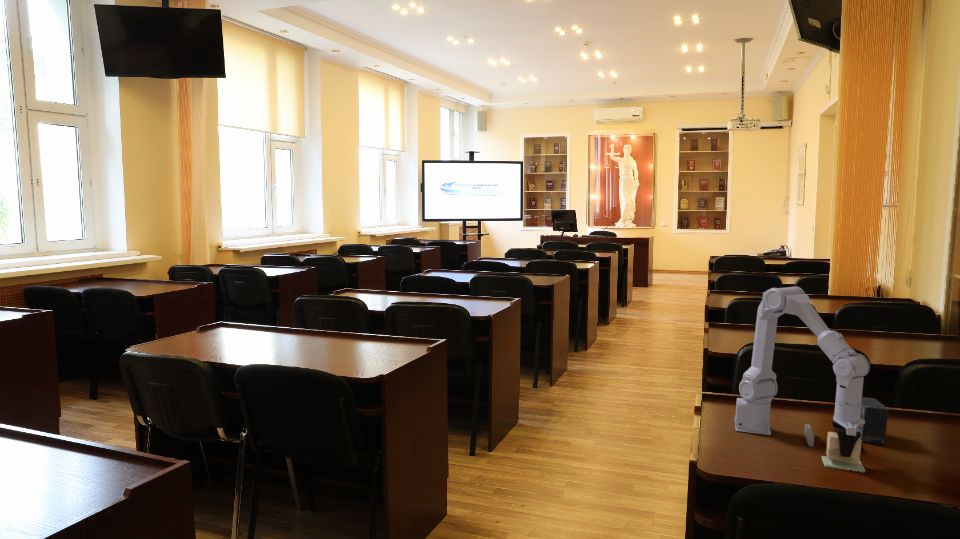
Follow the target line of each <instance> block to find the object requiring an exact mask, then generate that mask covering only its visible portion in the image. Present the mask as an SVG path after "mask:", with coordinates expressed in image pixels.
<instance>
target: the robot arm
mask: <svg viewBox="0 0 960 539" xmlns="http://www.w3.org/2000/svg"><path fill="white" fill-rule="evenodd" d="M761 299H762V300H761V302H760V303H759V305H758V307H757V313H756V322H755V330H754V337H753V338H754V339H753V348H752V354H751V355H752V356H751V362H750V363H751V364H750V365H751V366H750V367H749V368H748V369H747V370H745V371H744V373H743V375H742V379H741V381H740V382H739V385H738V390H739V394H740V396H741V397H737V398H736V404H735V416H734V419H733V420H734V421H733V422H734V426H735V431H736V432H742V433H752V434H758V435H759V434H760V435H766V436H771V435H772V431H771V427H770V418H771V417H770V416H771V405H772V404H771V402H772V401H773V398H774V397H775V396H776V395H777V393H778V391H779V390H778V388H779V387H778V383H777V374H776V373H775V372H774V371H773V370H772V369H773V359H774V354H775V352H774V351H775V343H776V336H777V328H778V327H777V326H778V319H779V317H781V316H782V315H784V314H788V315H794V316H797V317H798V318H799V319H800V320H801V321H802V322H803V323H804V324H805V325H806V326H807V328H809V330H810V331H811V332H812V333H813V334H814V335H815V336H816V337H817V342H816V343H817V345H818V347H819V348H820V349H821V350H822V352H823V353H824V354H825V355H826V356H827V357H828V359H829V360H830V362H832V364H833V365H832V369H833V373H834V374H835V377H836V379H835V382H836V391H835V400H834V401H835V403H834V404H835V405H834V414H833V417H832V419H833V420H831V423H832V425H833V429H834V432H835V433H837V435H838V439H839V448H840V454H841V456H842V457H850V456H851V454H852V451H853V448H854V446H855V444H856V442H857V440H858V439H859V438H860V437H861V433H860V432H856V430H857V427H858V426H859V425H860V424H865V421H864V420H863V419H860V412H861V401H862V397H863V389H864V380H865V379H864V376H865V377H866V376H867V375H868V374H869V372H870V363H869V361H868V359H867V357H866V356H865V355H863V354H861V353H858V352H856V351H855V350H854V348H853V349H852V347H851V346H850V345H849V344H848V342H846V341H845V339H844V335H843V334H842V333H841V332H838V331H837V330H830V329H829V327H828V325H827V324H826V323H825V322H824V320H823V319H822V318H821V316H820V315H819V313H818V312H817V311H816V310H815V308H814V307H813V306H812V304H811V302H810V296H809V295H808V294H806V292H805V291H804V290H803V288H801V287H799V286H795V285H794V286H789V287H778V288H777V287H772V288H769V289H767V290H766V291H764V292H763V293H762V298H761Z"/></svg>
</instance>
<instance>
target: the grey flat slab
mask: <svg viewBox="0 0 960 539" xmlns="http://www.w3.org/2000/svg"><path fill="white" fill-rule="evenodd" d="M804 436H805V440H806V443H807V445H808V447H814V446H815V445H814V444H815V435H814V432H813V430H812V427H811V425H810V424H804Z"/></svg>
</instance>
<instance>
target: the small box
mask: <svg viewBox="0 0 960 539" xmlns="http://www.w3.org/2000/svg"><path fill="white" fill-rule="evenodd" d="M888 416H889V408H888V407H887V406H885V405H884V404H882V403H881V402H880V401H879V400H878V399H876V398H873V397H865V396H862V401H861V412H860V419H863V420H864V421H865V424H860V425H859V426H858V427H857V430H856V432H860V433H861V437H860V439H861V443H867V444H876V445H877V444H878V445H885V443H886V436H887V426H888V418H889V417H888Z"/></svg>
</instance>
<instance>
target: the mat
mask: <svg viewBox="0 0 960 539" xmlns="http://www.w3.org/2000/svg"><path fill="white" fill-rule="evenodd" d="M821 460H822V463H823V465H824V467H825V468H829V467H830V468H831V469H836V468H837V470H843V469H844V471H850V470H852V471H851V472H858V471H859V473H866V469H865V467H864V465H863V463H862V461H860V462H859V464H858V463H851V462H843V461H836V460H829V459H828V457H827V455H826V456H825V455H821Z"/></svg>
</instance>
